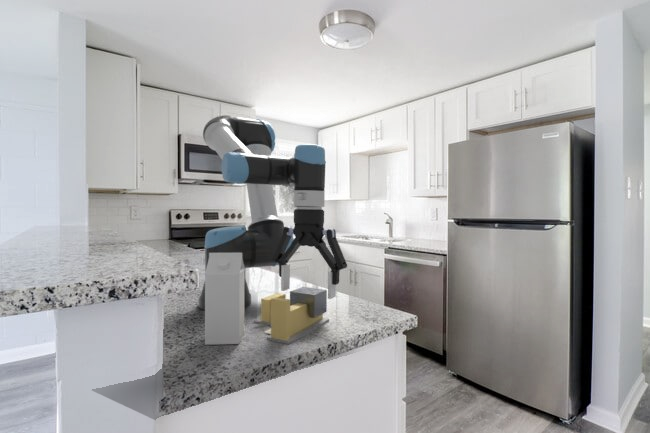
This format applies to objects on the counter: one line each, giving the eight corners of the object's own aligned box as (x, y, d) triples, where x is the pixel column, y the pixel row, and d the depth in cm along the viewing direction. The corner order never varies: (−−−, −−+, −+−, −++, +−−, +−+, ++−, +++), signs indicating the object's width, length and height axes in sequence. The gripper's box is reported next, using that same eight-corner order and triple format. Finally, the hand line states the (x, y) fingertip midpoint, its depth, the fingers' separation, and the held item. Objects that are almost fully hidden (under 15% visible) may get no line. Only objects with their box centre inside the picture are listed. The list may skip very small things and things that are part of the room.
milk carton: (212, 333, 79) (213, 250, 78) (244, 332, 79) (244, 250, 79) (204, 345, 71) (204, 254, 71) (239, 344, 72) (239, 254, 72)
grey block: (289, 313, 84) (289, 291, 84) (302, 307, 89) (303, 286, 89) (314, 318, 81) (314, 295, 80) (326, 311, 86) (326, 289, 86)
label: (263, 332, 79) (263, 331, 79) (279, 325, 84) (279, 324, 84) (274, 335, 78) (274, 334, 78) (289, 327, 83) (289, 326, 83)
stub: (253, 322, 86) (253, 298, 86) (274, 313, 94) (275, 291, 94) (272, 326, 83) (272, 302, 83) (293, 316, 91) (293, 294, 91)
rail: (266, 339, 75) (266, 298, 75) (309, 317, 91) (309, 283, 91) (289, 344, 72) (289, 302, 72) (329, 320, 88) (329, 286, 88)
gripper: (259, 207, 87) (258, 289, 88) (348, 209, 75) (346, 305, 76) (277, 207, 94) (276, 284, 95) (361, 209, 82) (359, 297, 83)
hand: (307, 293), depth 85 cm, fingers open, 13 cm apart
